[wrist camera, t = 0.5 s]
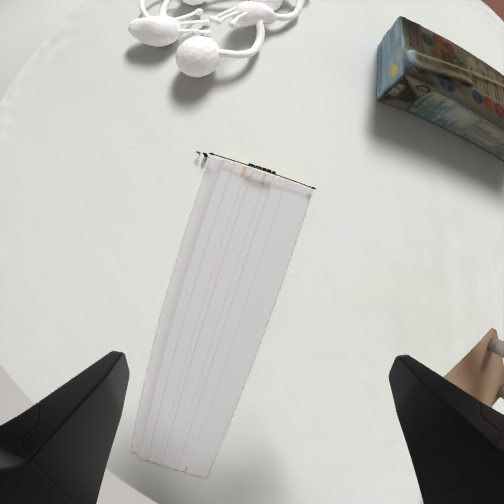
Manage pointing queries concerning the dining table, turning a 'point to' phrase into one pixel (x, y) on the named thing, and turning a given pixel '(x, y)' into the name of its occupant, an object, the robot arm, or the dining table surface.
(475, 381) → the peg plate
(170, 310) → the baseboard
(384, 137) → the dining table surface
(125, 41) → the dining table surface
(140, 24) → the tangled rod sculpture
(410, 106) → the dark weathered brick
